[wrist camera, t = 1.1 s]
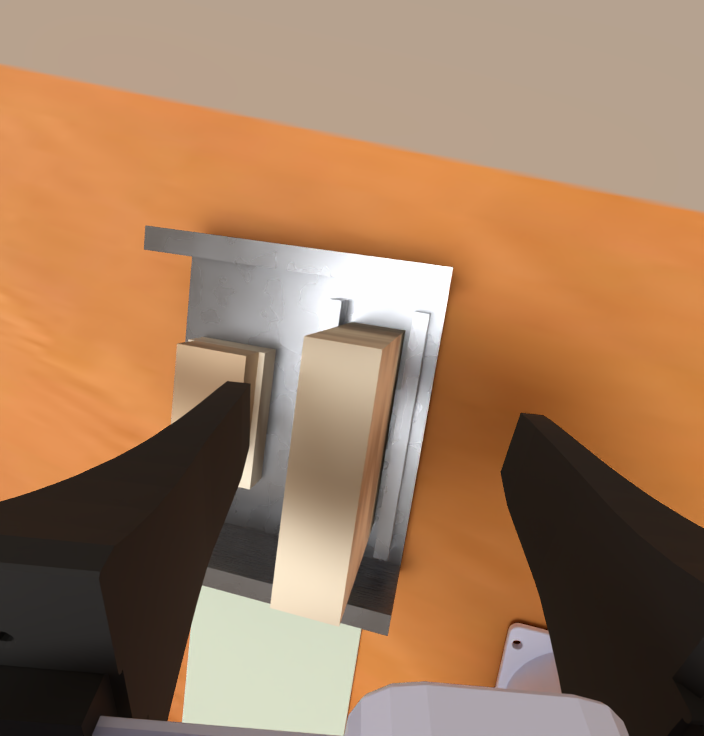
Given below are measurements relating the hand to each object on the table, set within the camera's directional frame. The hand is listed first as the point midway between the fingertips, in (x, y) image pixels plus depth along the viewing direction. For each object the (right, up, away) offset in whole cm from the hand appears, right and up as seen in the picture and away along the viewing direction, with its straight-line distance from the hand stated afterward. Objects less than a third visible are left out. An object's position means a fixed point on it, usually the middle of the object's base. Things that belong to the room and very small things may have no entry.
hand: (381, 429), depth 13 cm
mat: (-6, -16, +16) cm, 23 cm away
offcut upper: (-7, 0, +11) cm, 13 cm away
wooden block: (0, -1, +11) cm, 11 cm away
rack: (-3, 0, +13) cm, 13 cm away
